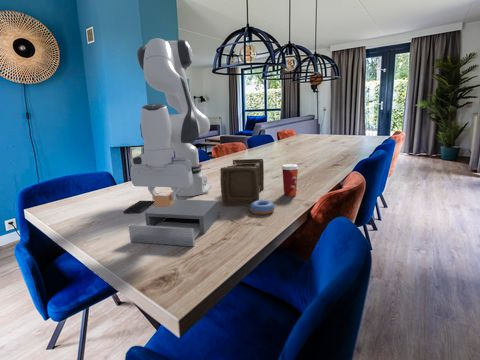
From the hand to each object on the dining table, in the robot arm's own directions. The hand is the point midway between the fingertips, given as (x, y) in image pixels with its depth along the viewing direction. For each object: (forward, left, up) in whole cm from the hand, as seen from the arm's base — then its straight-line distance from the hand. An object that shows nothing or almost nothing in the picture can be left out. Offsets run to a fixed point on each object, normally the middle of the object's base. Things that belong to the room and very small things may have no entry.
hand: (164, 199), depth 95 cm
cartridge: (0, 0, -2) cm, 2 cm away
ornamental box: (-51, +15, -14) cm, 55 cm away
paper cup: (-53, +36, -14) cm, 65 cm away
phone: (-27, -28, -14) cm, 41 cm away
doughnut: (-29, +27, -14) cm, 41 cm away
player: (-13, 0, -13) cm, 18 cm away
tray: (-3, 0, -13) cm, 14 cm away
